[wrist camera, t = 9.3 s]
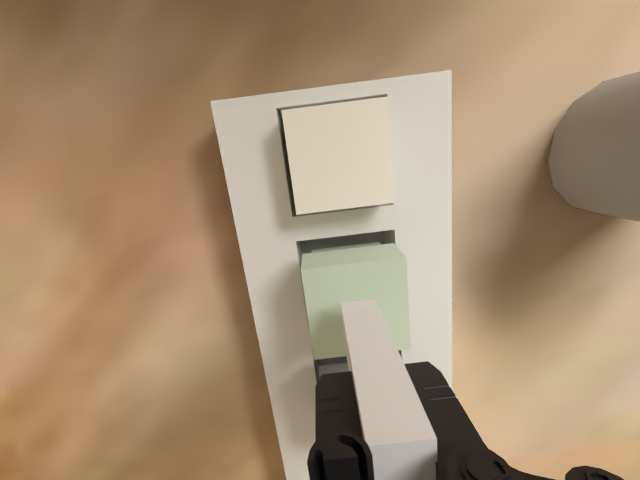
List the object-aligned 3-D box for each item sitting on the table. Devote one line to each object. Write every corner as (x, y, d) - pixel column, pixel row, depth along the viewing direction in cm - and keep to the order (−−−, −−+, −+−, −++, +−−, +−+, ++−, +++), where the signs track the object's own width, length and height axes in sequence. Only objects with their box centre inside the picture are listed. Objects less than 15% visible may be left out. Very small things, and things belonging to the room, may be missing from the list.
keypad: (230, 112, 18) (210, 101, 15) (425, 87, 18) (451, 69, 14) (294, 460, 25) (291, 506, 22) (434, 445, 25) (452, 489, 22)
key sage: (304, 244, 17) (300, 269, 13) (385, 234, 17) (406, 257, 13) (314, 317, 19) (313, 359, 15) (390, 308, 18) (410, 348, 14)
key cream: (289, 121, 17) (281, 109, 13) (371, 111, 17) (387, 96, 13) (300, 202, 18) (296, 214, 14) (376, 193, 18) (393, 202, 14)
